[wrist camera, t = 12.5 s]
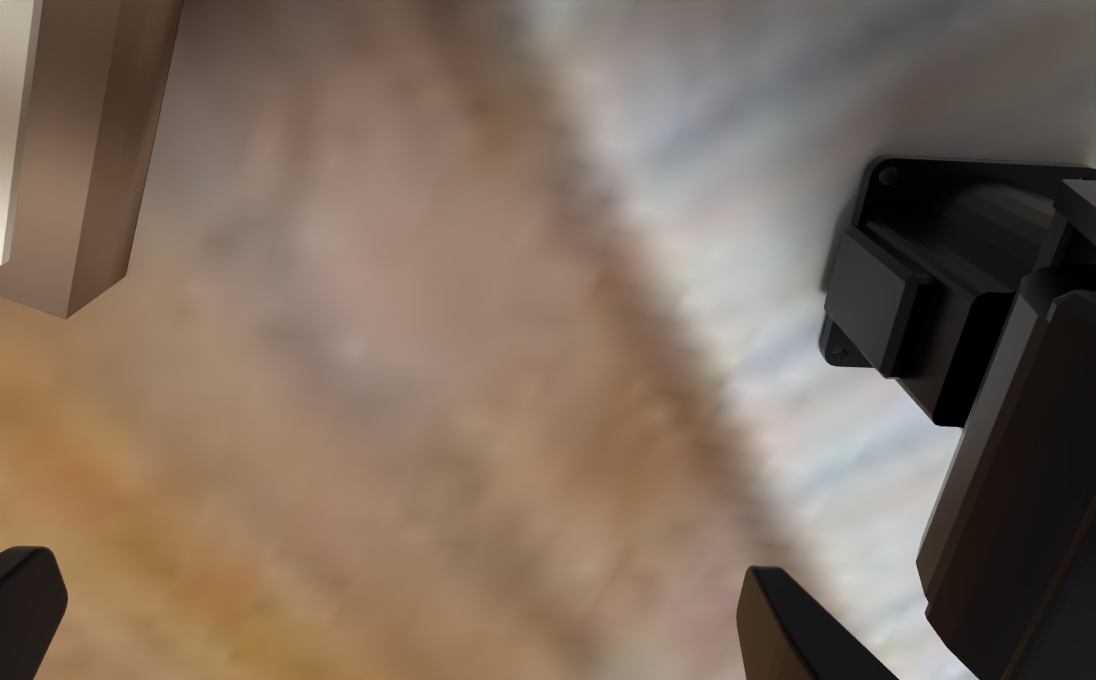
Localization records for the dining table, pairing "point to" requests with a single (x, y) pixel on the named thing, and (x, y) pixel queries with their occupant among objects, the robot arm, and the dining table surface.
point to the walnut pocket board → (76, 141)
